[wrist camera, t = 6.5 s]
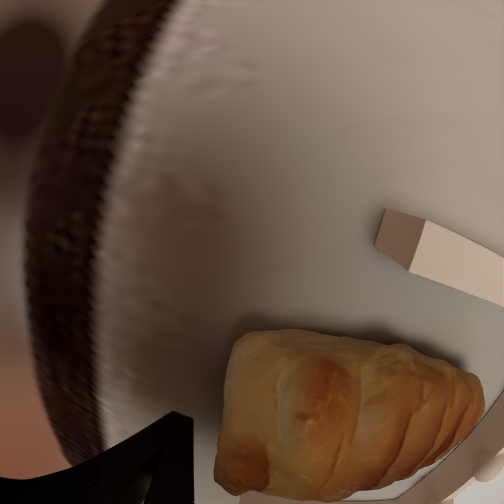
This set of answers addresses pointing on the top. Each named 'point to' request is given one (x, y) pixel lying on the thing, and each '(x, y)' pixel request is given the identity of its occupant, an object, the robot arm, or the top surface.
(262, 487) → the pastry
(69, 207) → the top surface
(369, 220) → the top surface
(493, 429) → the frame
